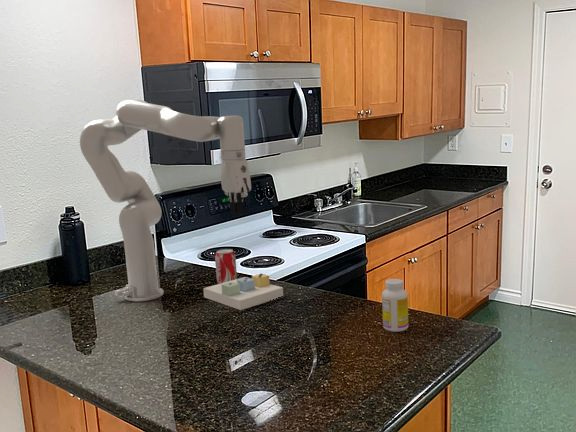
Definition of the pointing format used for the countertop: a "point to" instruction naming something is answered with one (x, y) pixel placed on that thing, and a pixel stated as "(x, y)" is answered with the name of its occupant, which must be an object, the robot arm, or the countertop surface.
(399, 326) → the supplement bottle
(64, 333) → the countertop surface
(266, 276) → the tile three pip
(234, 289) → the tile one pip
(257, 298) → the keypad board
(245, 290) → the tile two pip
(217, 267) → the soda can
